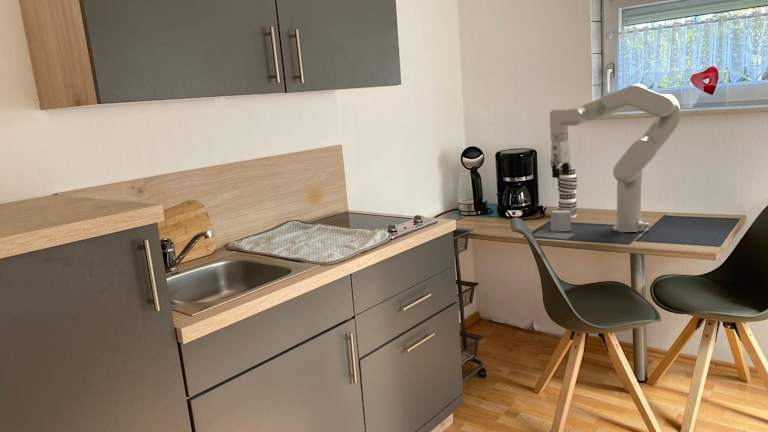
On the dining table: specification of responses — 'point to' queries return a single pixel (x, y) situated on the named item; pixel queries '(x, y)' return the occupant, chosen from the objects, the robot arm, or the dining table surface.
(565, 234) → the mat
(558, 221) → the medicine box
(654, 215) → the dining table surface
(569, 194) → the decorative candle
